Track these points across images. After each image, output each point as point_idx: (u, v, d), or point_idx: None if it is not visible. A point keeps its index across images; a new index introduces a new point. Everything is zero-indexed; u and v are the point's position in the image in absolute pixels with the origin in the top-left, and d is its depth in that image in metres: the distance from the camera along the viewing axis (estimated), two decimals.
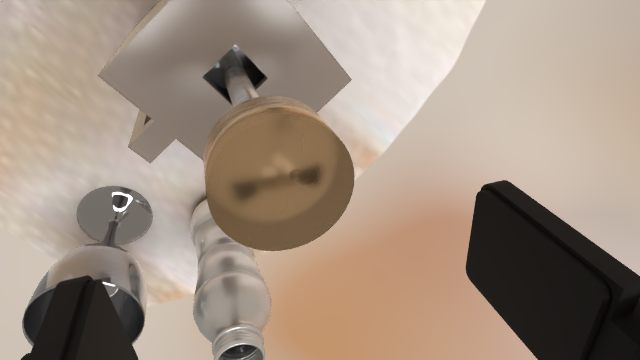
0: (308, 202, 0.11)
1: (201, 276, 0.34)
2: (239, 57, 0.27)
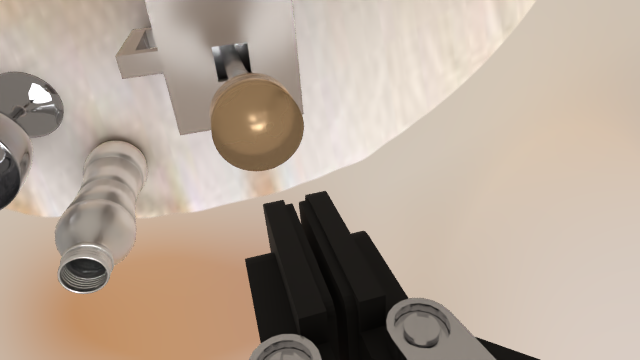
0: (266, 146, 0.18)
1: (85, 194, 0.36)
2: None
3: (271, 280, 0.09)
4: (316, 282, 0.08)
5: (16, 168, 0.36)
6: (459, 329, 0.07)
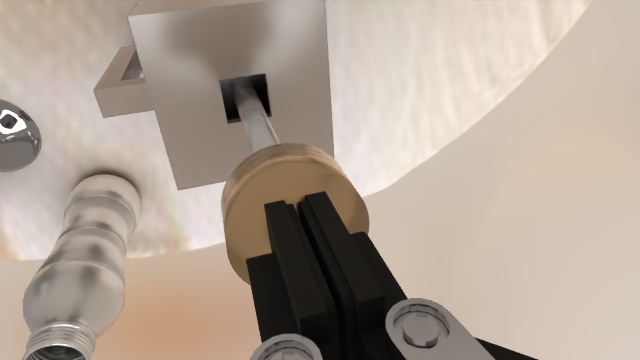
0: None
1: (61, 251, 0.30)
2: None
3: (272, 280, 0.09)
4: (317, 282, 0.08)
5: None
6: (458, 329, 0.07)
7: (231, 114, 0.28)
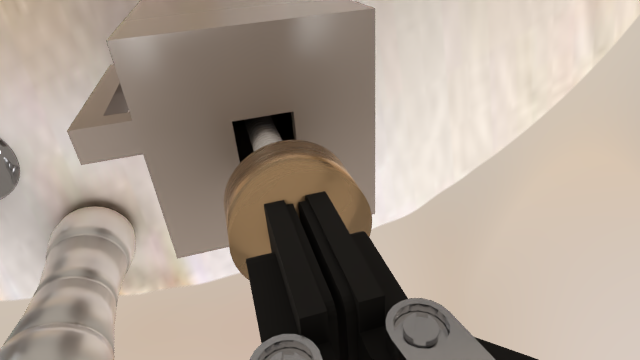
0: None
1: (37, 312, 0.24)
2: None
3: (272, 279, 0.09)
4: (316, 282, 0.08)
5: None
6: (459, 329, 0.07)
7: None
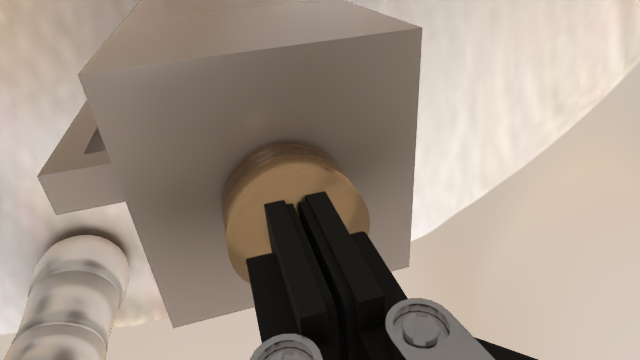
0: None
1: None
2: None
3: (272, 280, 0.09)
4: (317, 282, 0.08)
5: None
6: (458, 329, 0.07)
7: None
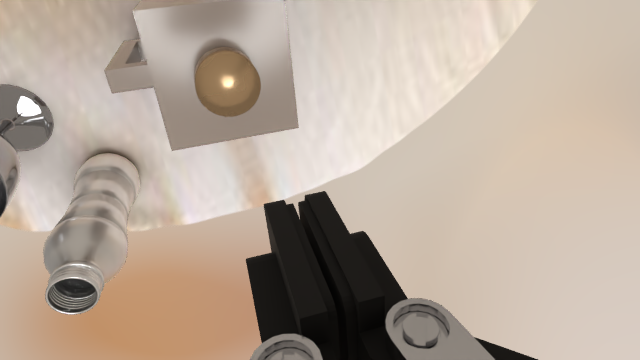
0: (234, 98, 0.26)
1: (74, 210, 0.35)
2: None
3: (272, 279, 0.09)
4: (317, 282, 0.08)
5: (3, 184, 0.35)
6: (458, 329, 0.07)
7: None
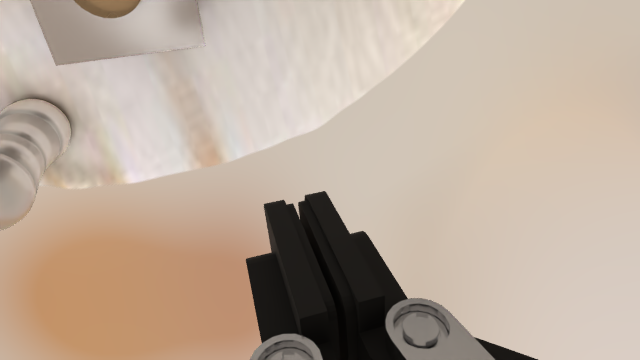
0: None
1: None
2: None
3: (272, 280, 0.09)
4: (317, 282, 0.08)
5: None
6: (458, 329, 0.07)
7: None
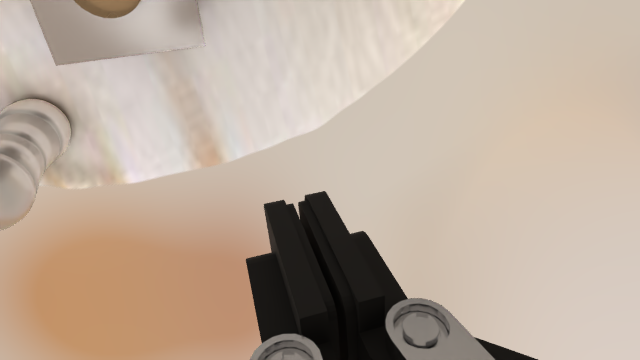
0: None
1: None
2: None
3: (272, 280, 0.09)
4: (317, 282, 0.08)
5: None
6: (458, 330, 0.07)
7: None
